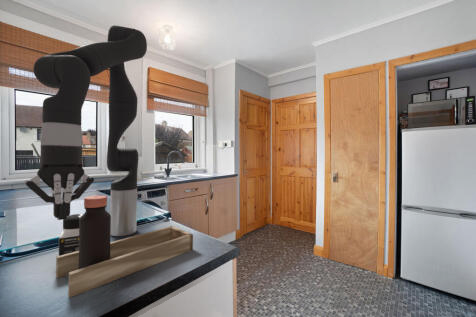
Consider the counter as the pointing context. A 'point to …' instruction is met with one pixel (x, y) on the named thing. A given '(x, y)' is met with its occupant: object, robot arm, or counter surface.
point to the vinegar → (94, 232)
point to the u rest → (124, 258)
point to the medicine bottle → (69, 235)
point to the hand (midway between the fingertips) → (61, 218)
